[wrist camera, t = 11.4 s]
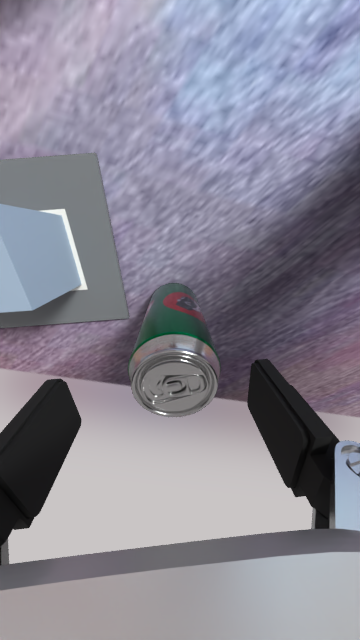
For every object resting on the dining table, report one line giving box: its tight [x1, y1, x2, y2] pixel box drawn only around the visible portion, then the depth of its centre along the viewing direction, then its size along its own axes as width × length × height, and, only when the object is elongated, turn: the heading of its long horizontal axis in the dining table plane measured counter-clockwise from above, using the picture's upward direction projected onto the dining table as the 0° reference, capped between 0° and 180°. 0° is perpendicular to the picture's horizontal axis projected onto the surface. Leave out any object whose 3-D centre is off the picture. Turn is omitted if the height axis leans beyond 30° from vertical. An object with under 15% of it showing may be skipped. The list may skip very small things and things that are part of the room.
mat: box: [0, 153, 130, 328], centre depth 17 cm, size 18×14×1 cm
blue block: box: [0, 204, 82, 313], centre depth 14 cm, size 6×6×7 cm
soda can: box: [128, 283, 221, 417], centre depth 14 cm, size 5×5×12 cm
